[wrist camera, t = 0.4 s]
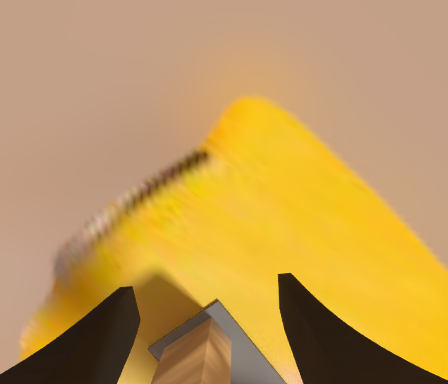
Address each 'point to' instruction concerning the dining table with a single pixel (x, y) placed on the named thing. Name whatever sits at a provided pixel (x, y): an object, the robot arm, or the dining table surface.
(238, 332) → the grey panel
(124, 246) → the dining table surface
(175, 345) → the birch block
